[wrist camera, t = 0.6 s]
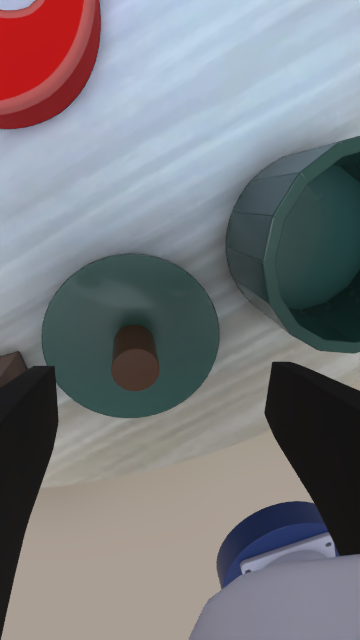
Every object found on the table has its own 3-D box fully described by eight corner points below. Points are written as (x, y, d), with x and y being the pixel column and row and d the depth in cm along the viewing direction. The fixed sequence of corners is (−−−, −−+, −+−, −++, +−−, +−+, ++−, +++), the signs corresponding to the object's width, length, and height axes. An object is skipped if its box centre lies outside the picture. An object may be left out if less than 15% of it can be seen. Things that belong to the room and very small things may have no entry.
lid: (229, 383, 23) (252, 423, 19) (80, 428, 23) (70, 480, 18) (194, 230, 20) (213, 239, 15) (16, 280, 19) (-15, 303, 15)
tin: (378, 291, 23) (461, 321, 17) (241, 332, 22) (280, 376, 17) (372, 133, 19) (473, 105, 14) (210, 176, 19) (246, 166, 13)
